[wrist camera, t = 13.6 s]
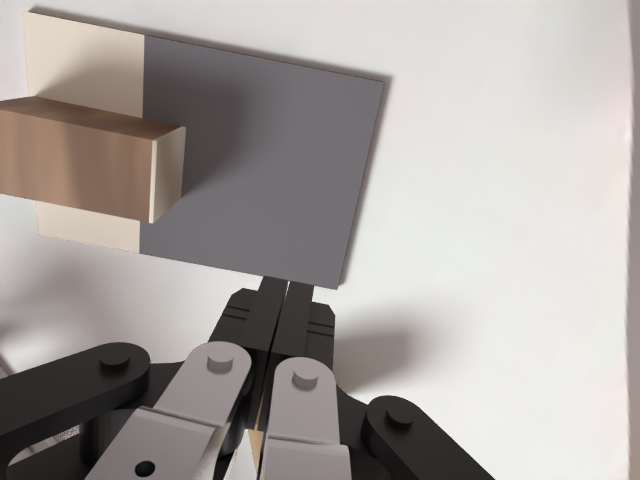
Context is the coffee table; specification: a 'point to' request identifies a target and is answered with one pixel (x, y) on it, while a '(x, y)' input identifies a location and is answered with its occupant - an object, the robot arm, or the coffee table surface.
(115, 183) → the walnut block
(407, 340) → the coffee table surface
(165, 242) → the mat
